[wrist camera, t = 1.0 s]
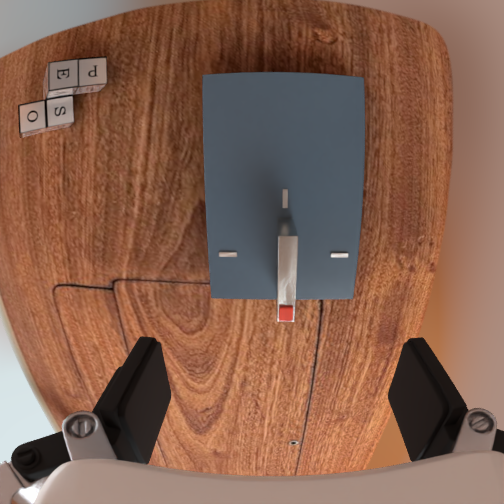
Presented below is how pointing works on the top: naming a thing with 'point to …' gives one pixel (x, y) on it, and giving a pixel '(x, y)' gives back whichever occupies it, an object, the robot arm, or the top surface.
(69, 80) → the building blocks
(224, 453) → the top surface
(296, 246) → the lever
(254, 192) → the blue-grey rectangular block
